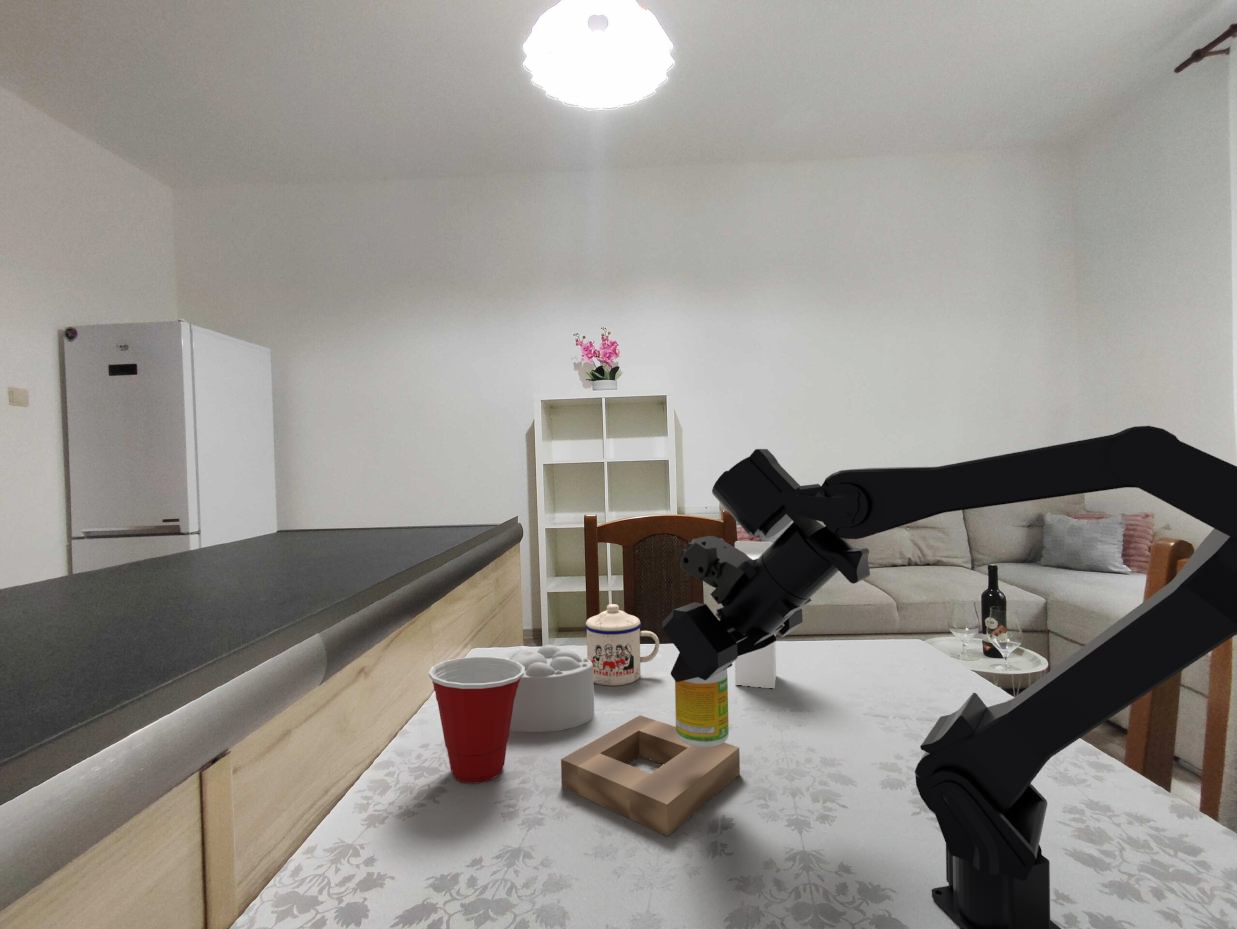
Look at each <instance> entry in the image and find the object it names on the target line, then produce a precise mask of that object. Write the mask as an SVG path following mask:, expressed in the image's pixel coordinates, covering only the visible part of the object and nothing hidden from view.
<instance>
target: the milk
mask: <svg viewBox="0 0 1237 929" xmlns="http://www.w3.org/2000/svg"><path fill="white" fill-rule="evenodd" d="M773 543H774V542H773V541H752V540H751V541H748V540H747V541H743V540H741V541H740V540H737V541H735V542H734V547H735V548H737V549H738V550H740V551H742V552H743V553H745V554H746V555H747V556H748V557H750V558H751V559H752V560H755V559H758V558H759V557H760V556H761V555H762V554H763V553H764V552H765V551H766V550H767V549H768V548H769V547H770V546H771V545H772V544H773ZM774 635H775V636H776V633H775V634H774ZM776 642H777V640H776V641H775V642H773V643H772V644H770V645H768V646H766V647H764V648H762V649H759V650H756V651H753V652H750V653H746V654H743V655H740V656H737V659H736V660H735V661H734V685H735V686H736V685H742V686H741V687H747V686H750V687H749V688H758V687H761V688H760V689H769V688H773V689H772V690H775V689H776V688H775V687H776V678H777V661H776V660H777V656H776V655H777V654H776V651H777V648H776V647H777V646H776Z"/></svg>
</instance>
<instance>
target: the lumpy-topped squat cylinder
mask: <svg viewBox="0 0 1237 929" xmlns="http://www.w3.org/2000/svg"><path fill="white" fill-rule="evenodd" d="M505 659H509V660H513V661H516V662H519V663H520V664H522V665H523V666H524V667H525V672H524V675H523V677H521V679H520V682H519V684H518V688H517V691H516V697H515V698H514V705H513V712H512V718H511V725H510V732H523V733H524V732H527V733H529V732H530V733H542V732H543V733H546V732H547V733H549V732H558V731H563V730H567V729H572V728H575V727H579V726H581V725H583V724H585V723H587V722H589V721H591V720H592V719H594V716H595V692H594V691H595V688H594V684H595V683H594V682H593V663H592V662H591V661H590V660H588V659H587V658H586V657H584V656H581V655H578V653H576V651H573V650H570V649H563V650H561V648H559V647H557V646H556V645H553V644H545V645H543V646H541V647H540V648H539V649H538V650H537V651H533V650H528V649H524V650H523V649H520V650H517V651H516V652H514V653H512V655H509V656H507V657H506V658H505Z"/></svg>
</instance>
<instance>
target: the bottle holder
mask: <svg viewBox="0 0 1237 929" xmlns="http://www.w3.org/2000/svg"><path fill="white" fill-rule="evenodd" d="M740 755H741V754H740V747H739V746H736V745H733V744H731V743H726V742H724V743H722V744H720V745H717V746H711V747H697V746H692V745H688V744H686V743H684V742H682V741H681V740H680V739H679V738H678V737H677V734H676V725H671V724H668V723H665V722H661V721H659V720H656V719H653V718H649V717H646V716H644V715H641V714H640V715H637V716H635V717H634V718H632V719H631V720H628V721H627V722H625V723H623V724H621V725H620V726H618V727H616V728H614V729H612V730H610V731H608V732H607V733H605V734H603V735H602V736H600V737H598V738H597V739H594V740H593V741H591V742H589V743H588V744H586V745H584V746H583V747H580V748H579V749H577V750H574V751H573V752H571V753H569V754H568V755H566V756H564V757H562V758H561V759H560V761H561V762H560V767H561V768H560V771H561V780H560V781H561V788H563V789H566V790H568V791H570V792H572V793H575V794H576V795H579V796H581V797H583V798H585V799H588V800H589V801H592V802H594V803H596V804H598V805H600V806H602V807H604V808H607V809H608V810H611V811H613V812H615V813H617V814H619V815H621V816H624V817H625V818H628V819H630V820H632V821H634V822H636V823H638V824H641V825H643V826H645V827H648V828H649V829H651V830H653V831H656V832H657V833H659V834H662V835H664V836H666V837H668V836H670V835H671V834H672V833H673V832H675V830H677V829H678V828H679V827H681V825H683V824H684V823H685V822H686V821H688V819H690V817H692V816H693V815H694V814H695V813H696V812H698V811H699V810H700V809H702V807H704V806H705V805H706V804H707V803H709V801H710V800H712V799H713V798H714V797H716V796H717V795H718V794H719V793H720V792H721V791H722V790H723V789H725V788H726V787H727V786H728V785H729V784H731V782H733V781H734V780H735V779H736V778H737V777H738V776H740V773H741V767H740V766H741V764H740V763H741V762H740V759H741V758H740ZM638 757H642V758H644V759H646V760H647V759H648V760H650V761H652V762H655V763H658V764H660V763H661V764H660V765H661V766H660V767H658V768H657V769H655V770H653V772H651V773H650V772H647V771H645V770H643V769H640V768H637V767H635V766H632V765H630V764H629V762H631V761H633V760H634V759H636V758H638ZM663 764H664V765H663ZM732 780H733V781H732Z"/></svg>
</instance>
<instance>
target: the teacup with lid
mask: <svg viewBox="0 0 1237 929" xmlns="http://www.w3.org/2000/svg"><path fill="white" fill-rule="evenodd" d="M584 627H585V629H586V654H587V655H586V657H587V659H588V660H590V661H591V662H592V663H593V682H594V684H597V685H602V686H611V687H612V686H614V687H615V686H623V685H628V684H632V683H634V682H635V681H637V680H639V678H641V663H648V662H651V661H653V659H655V657H657V654H658V652H659V648H660V640H659V637H658V636H657V634H656V633H654V632H652V631H650V630H641V629H640V628H642V623H641V621H640V618H638V617H637V616H635V615H632V614H628V613H627V612H625V610H624V611H623V610H620V606H619V605H618V604H617V603H616V604H615V603H610V604H607V605H606V610H603V611H602V612H600V613H599V614H597V615H593V616H591V617H589V618H587V620H586V622H585V624H584ZM641 637H650V638H652V639H653V640H654V644H655V645H654V648H653V651H652V652H651V653H650V654H649V655H646V656H641Z"/></svg>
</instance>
